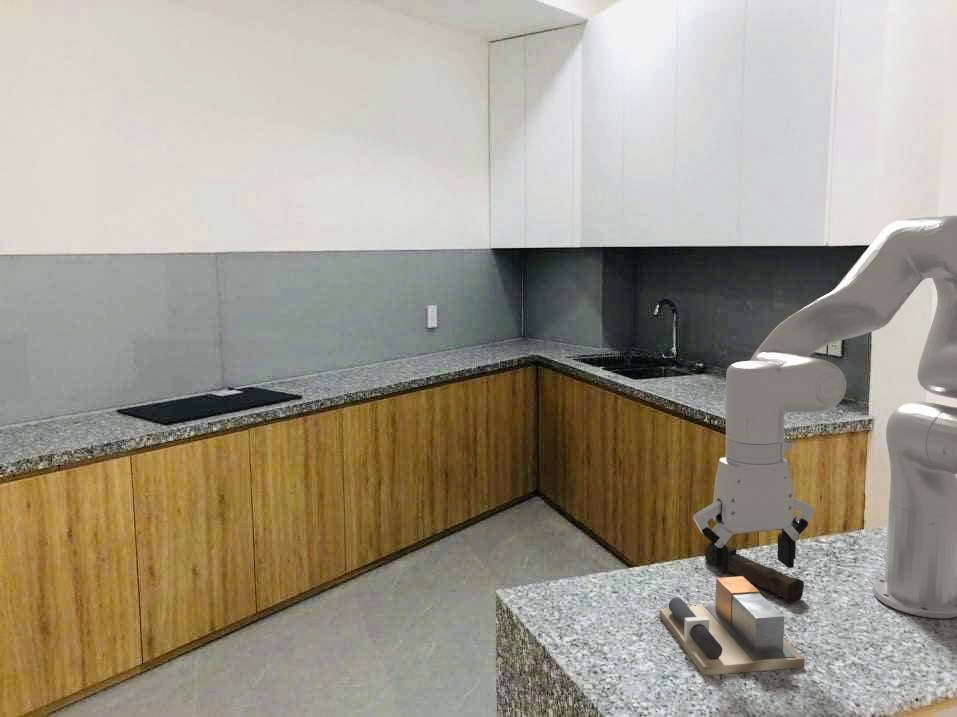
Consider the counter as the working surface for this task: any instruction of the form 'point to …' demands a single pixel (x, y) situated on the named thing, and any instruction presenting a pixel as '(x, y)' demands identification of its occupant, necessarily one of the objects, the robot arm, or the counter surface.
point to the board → (729, 647)
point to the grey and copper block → (749, 614)
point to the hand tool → (762, 575)
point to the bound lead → (695, 628)
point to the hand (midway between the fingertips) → (753, 567)
